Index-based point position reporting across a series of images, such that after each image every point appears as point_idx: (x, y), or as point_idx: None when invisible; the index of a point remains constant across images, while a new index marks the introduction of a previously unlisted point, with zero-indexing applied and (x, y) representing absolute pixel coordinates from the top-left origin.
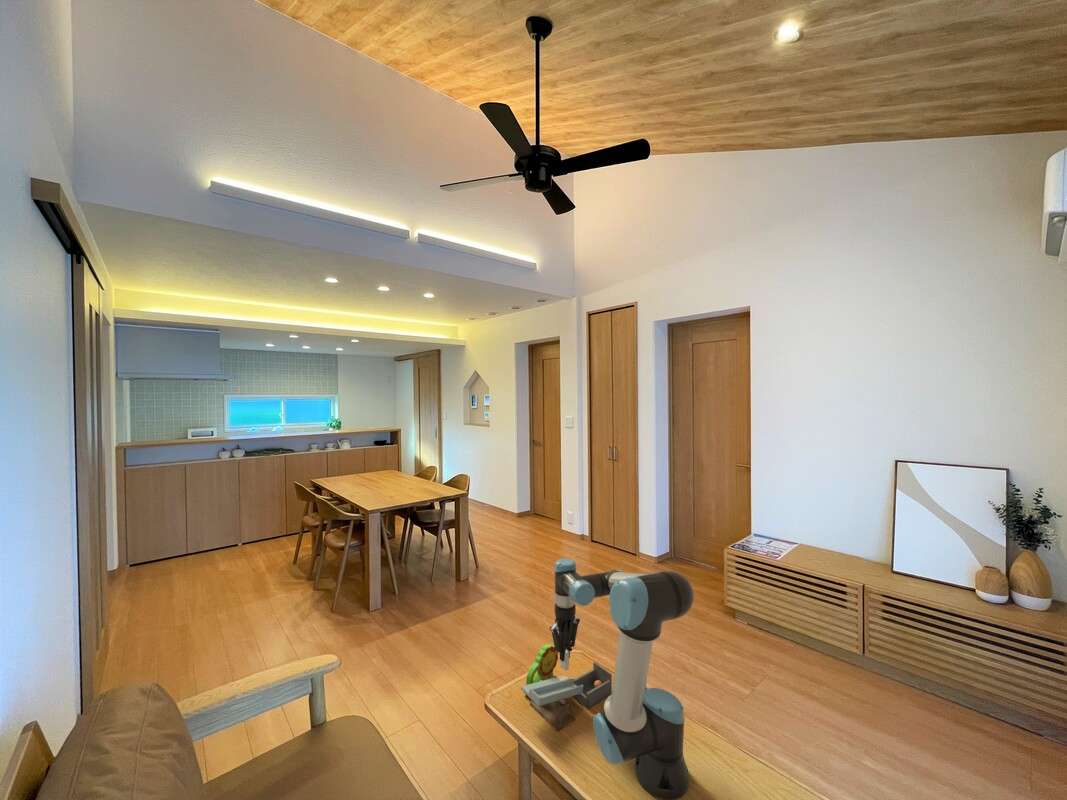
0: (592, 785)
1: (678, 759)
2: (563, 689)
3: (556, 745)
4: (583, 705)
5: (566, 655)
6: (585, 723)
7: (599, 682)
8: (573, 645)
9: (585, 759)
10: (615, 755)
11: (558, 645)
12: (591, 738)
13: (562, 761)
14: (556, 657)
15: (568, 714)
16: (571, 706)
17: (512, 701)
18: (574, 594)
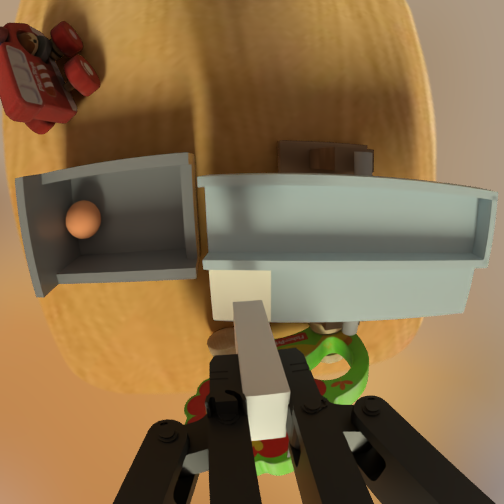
0: None
1: None
2: (310, 223)
3: (392, 109)
4: (195, 179)
5: (273, 371)
6: (254, 106)
7: (74, 215)
8: (168, 431)
9: (351, 22)
10: None
11: (434, 452)
12: (284, 49)
13: (405, 65)
14: (196, 409)
15: (291, 167)
16: None
17: (377, 329)
18: None
